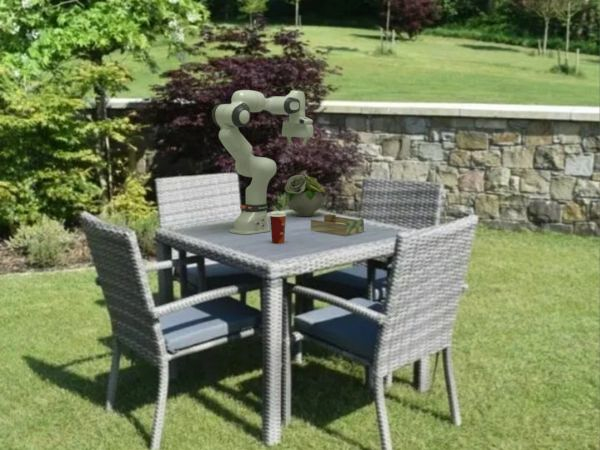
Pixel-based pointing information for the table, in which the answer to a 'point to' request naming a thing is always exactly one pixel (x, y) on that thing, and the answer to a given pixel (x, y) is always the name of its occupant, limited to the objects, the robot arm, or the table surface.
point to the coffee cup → (278, 226)
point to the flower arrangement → (304, 194)
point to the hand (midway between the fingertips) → (297, 145)
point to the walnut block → (330, 218)
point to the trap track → (339, 226)
